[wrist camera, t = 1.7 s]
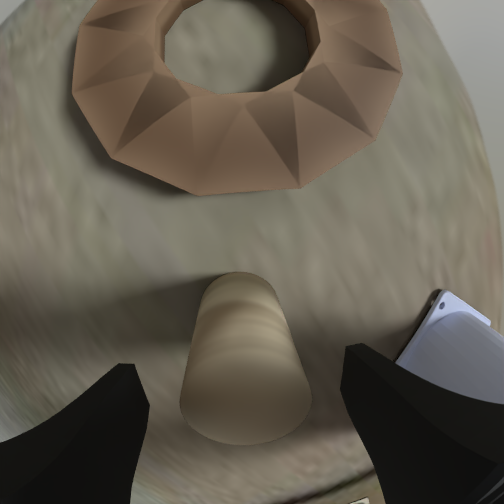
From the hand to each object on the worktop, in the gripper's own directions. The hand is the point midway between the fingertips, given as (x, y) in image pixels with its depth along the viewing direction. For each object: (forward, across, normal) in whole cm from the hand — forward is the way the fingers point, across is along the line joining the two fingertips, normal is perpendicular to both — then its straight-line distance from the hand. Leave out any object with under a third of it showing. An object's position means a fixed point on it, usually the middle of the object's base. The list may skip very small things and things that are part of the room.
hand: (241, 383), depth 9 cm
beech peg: (+6, 0, 0) cm, 6 cm away
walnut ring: (+6, -1, -13) cm, 15 cm away
